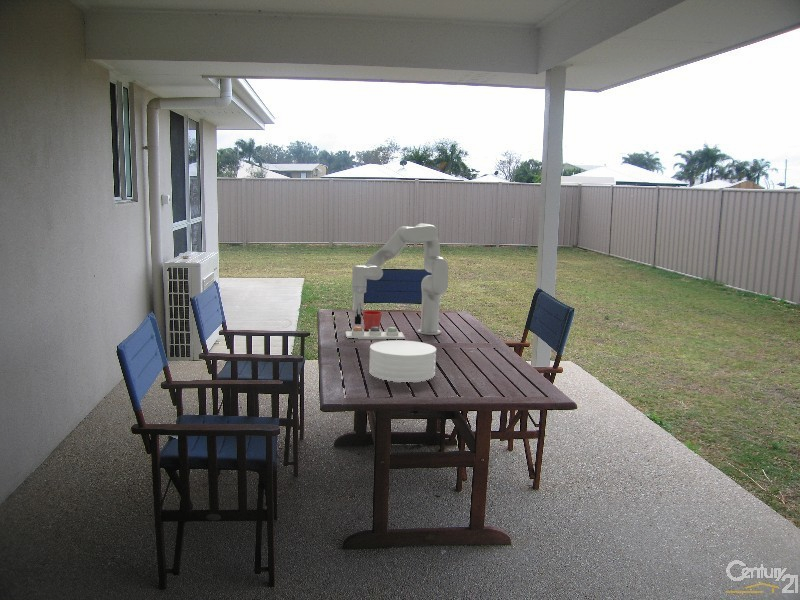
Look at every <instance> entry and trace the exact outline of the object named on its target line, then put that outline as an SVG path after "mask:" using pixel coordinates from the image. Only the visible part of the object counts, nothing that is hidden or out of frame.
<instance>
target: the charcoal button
mask: <svg viewBox="0 0 800 600" xmlns="http://www.w3.org/2000/svg"><path fill="white" fill-rule="evenodd" d="M379 329H380V326H379V327H371V331H379Z"/></svg>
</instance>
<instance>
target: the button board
mask: <svg viewBox="0 0 800 600" xmlns="http://www.w3.org/2000/svg"><path fill="white" fill-rule="evenodd" d="M345 337H347V338H358V339H357V340H386V339H396V340H397V339H405V340H406V337H405V335H404V333H403V332H402V331H399V330H398V329H397V328H396V332H388V328H386V329H385V331H382V330H381V328H379V331H371V329H369V331H365V329H364V328H362V331H354V328H351V331H350V330H349V331H348V330H346V331H345ZM347 338H346V339H347Z"/></svg>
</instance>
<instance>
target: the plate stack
mask: <svg viewBox="0 0 800 600" xmlns="http://www.w3.org/2000/svg"><path fill="white" fill-rule="evenodd" d="M436 353H437V347H435V346H434V345H432V344H429V343H427V342H421V341H417V340H416V341H415V340H381V341H376V342H374V343H371V344H370V346H369V366H368V368H369V370H368V373H370V374H371V375H372V376H374V377H377V378H379V379H378V380H380V379H382V380H381V381H384V380H387V381H386V382H390V381H393V382H392V383H401V382H408V383H409V382H413V383H422V382H427V381H430V380H432V379H434V378H435V377H436V363H437V361H436V359H437V354H436ZM370 374H369V375H370ZM371 375H370V376H371ZM372 376H371V377H372ZM434 376H435V377H434ZM374 377H373V378H374ZM433 377H434V378H433ZM377 378H376V379H377ZM431 378H432V379H431ZM429 379H430V380H429ZM426 380H427V381H426ZM421 381H422V382H421ZM408 383H407V384H408ZM409 384H410V383H409Z"/></svg>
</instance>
